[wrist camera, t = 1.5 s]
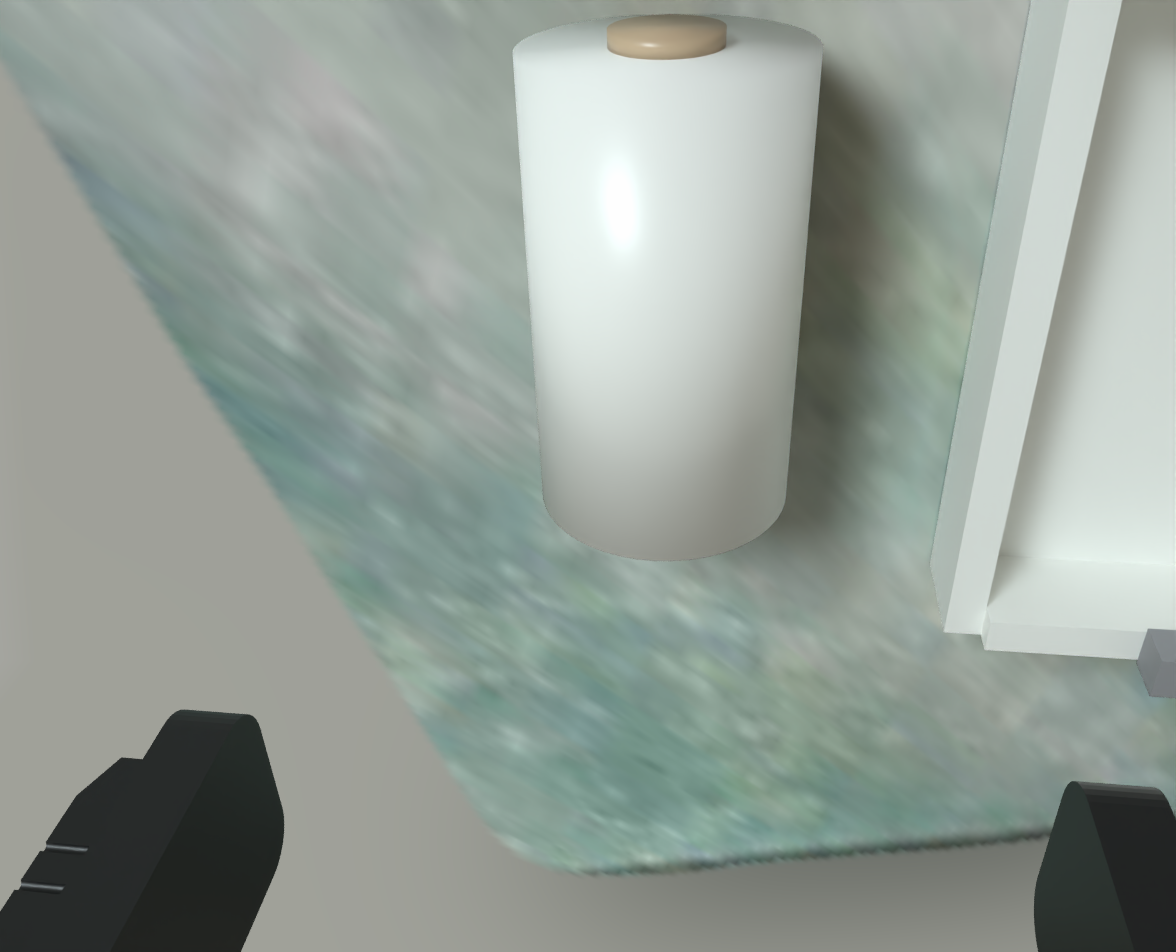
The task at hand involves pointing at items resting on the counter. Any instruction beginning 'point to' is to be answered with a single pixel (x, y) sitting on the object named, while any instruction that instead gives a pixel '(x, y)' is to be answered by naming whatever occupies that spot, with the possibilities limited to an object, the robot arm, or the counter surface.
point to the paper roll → (666, 272)
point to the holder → (1074, 357)
